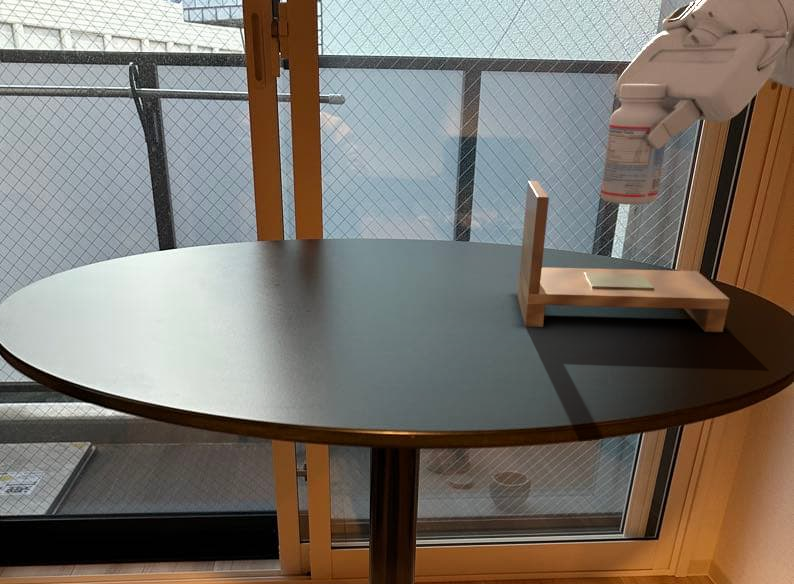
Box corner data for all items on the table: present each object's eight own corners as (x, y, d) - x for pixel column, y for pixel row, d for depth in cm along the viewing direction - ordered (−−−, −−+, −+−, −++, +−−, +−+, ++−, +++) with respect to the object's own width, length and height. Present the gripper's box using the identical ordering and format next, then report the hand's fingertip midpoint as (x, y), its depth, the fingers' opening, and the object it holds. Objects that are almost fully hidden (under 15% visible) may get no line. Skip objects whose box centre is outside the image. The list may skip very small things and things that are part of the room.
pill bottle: (630, 195, 92) (647, 83, 86) (668, 203, 87) (688, 84, 82) (588, 199, 90) (602, 83, 84) (624, 206, 85) (641, 85, 79)
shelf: (691, 303, 102) (714, 183, 95) (722, 335, 90) (751, 201, 83) (517, 298, 103) (527, 180, 96) (524, 329, 91) (537, 196, 84)
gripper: (814, 58, 76) (702, 174, 78) (690, 58, 93) (602, 154, 95) (786, 0, 72) (669, 123, 75) (663, 12, 89) (572, 112, 92)
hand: (631, 140), depth 85 cm, fingers closed on pill bottle, 6 cm apart
